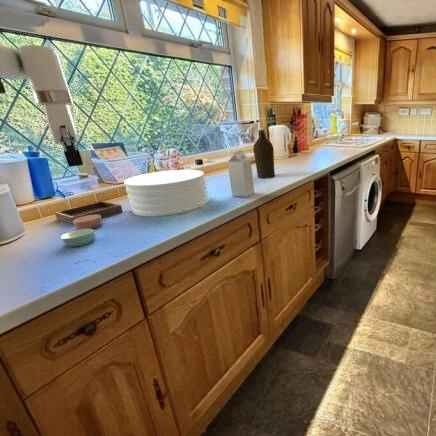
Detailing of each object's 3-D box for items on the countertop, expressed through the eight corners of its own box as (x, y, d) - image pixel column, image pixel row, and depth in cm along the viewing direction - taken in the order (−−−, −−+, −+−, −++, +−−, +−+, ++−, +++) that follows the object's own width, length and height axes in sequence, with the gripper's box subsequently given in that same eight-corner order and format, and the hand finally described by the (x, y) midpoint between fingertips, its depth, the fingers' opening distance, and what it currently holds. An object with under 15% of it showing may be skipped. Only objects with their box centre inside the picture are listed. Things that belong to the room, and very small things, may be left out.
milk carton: (232, 196, 130) (225, 152, 124) (240, 192, 137) (234, 149, 130) (247, 197, 128) (241, 152, 122) (254, 193, 135) (249, 149, 128)
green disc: (71, 250, 83) (68, 240, 82) (59, 245, 87) (56, 235, 86) (101, 240, 89) (98, 230, 88) (89, 236, 93) (86, 226, 92)
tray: (74, 225, 102) (72, 217, 101) (56, 219, 108) (54, 212, 107) (122, 211, 115) (120, 204, 114) (104, 207, 121) (102, 200, 120)
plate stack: (222, 200, 125) (218, 173, 121) (155, 221, 104) (147, 188, 100) (184, 192, 140) (179, 167, 136) (118, 208, 119) (110, 180, 115)
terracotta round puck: (82, 232, 96) (79, 223, 95) (71, 228, 99) (68, 220, 98) (107, 224, 102) (105, 216, 101) (96, 221, 105) (94, 213, 104)
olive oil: (278, 177, 165) (274, 129, 157) (259, 179, 161) (253, 131, 152) (272, 173, 174) (268, 128, 166) (254, 176, 170) (249, 130, 161)
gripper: (36, 101, 84) (58, 162, 90) (32, 97, 71) (58, 169, 77) (71, 100, 88) (89, 159, 94) (72, 97, 76) (94, 165, 82)
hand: (75, 163), depth 86 cm, fingers open, 9 cm apart
